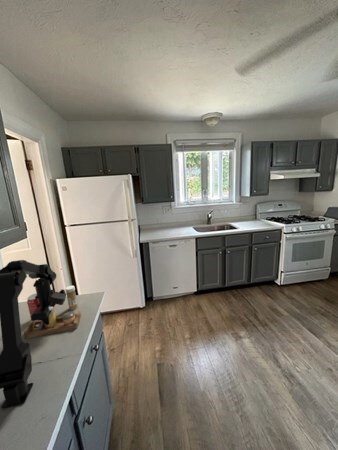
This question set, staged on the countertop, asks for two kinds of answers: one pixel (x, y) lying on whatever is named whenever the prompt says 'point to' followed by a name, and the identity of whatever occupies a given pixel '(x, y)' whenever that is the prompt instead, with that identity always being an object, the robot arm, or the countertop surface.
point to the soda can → (32, 304)
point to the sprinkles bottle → (71, 297)
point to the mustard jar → (51, 318)
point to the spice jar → (69, 318)
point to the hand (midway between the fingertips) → (49, 321)
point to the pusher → (40, 326)
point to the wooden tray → (59, 327)
